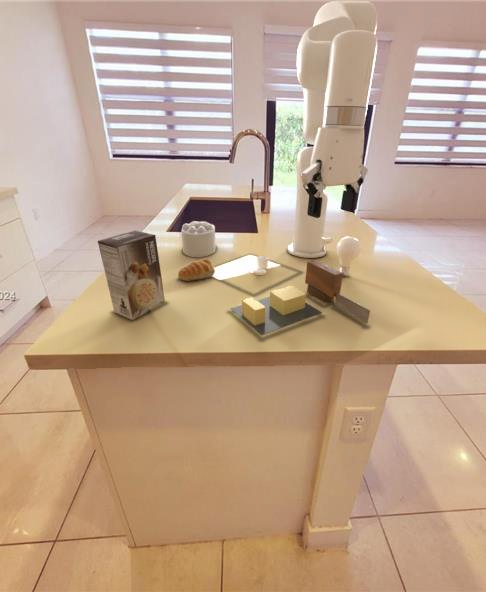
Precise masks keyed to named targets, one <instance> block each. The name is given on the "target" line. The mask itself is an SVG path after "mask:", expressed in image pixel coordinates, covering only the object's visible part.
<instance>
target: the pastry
mask: <svg viewBox="0 0 486 592" xmlns="http://www.w3.org/2000/svg"><path fill="white" fill-rule="evenodd" d="M214 267H215V266H214V265H213V264H212V261H211V260H210V259H208V258H202V259H201V260H196V261H191V262H190V263H189V264H188V265H186V266H183V268H181V269H180V270H179V271H178V277H177V278H179V279H180V280H182V281H185V282H186V281H187V282H192V281H197V280H202V279H206V278H210V277H211V276H212V275H213V274H214V273H215V270H214Z"/></svg>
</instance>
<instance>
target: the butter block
mask: <svg viewBox="0 0 486 592" xmlns="http://www.w3.org/2000/svg"><path fill="white" fill-rule="evenodd" d="M269 297H270V306H271V307H272V308H274V309H275V310H277V311H278V312H279V313H281V314H282V315H286V314H289V313H292V312H295V311H298V310H300V309H303V308H305V302H306V301H307V293H305V292H303V291H302V290H300V289H298V288H297V287H296V286H293V285H288V286H285V287H282V288H278V289H275V290H271V291H270V292H269Z"/></svg>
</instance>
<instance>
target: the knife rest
mask: <svg viewBox="0 0 486 592" xmlns="http://www.w3.org/2000/svg"><path fill="white" fill-rule="evenodd" d="M306 294H308V295H310V296H311V297H313V298H315V299H317V300H319V301H320V302H322V303H324V304H326V303H329V302H332V301H335V297H333V298H332V297H330V296H328V295H326V294H325V293H323V292H321V291H319V290H317V289H316V288H314V287H312V286H310V285H308V284H307V288H306Z"/></svg>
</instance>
